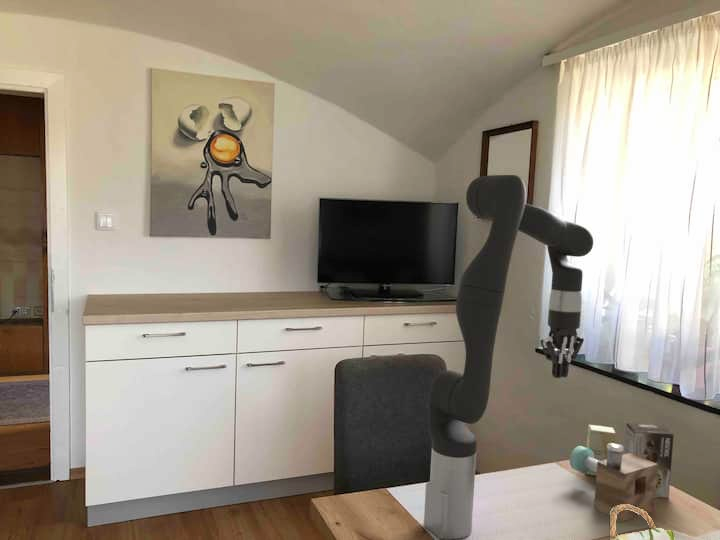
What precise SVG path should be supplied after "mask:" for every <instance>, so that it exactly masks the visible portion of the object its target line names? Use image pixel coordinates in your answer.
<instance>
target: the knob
mask: <svg viewBox="0 0 720 540" xmlns="http://www.w3.org/2000/svg"><path fill="white" fill-rule="evenodd" d="M597 463H598V460H596V459H594V453H593V451H592V450H590V449H587V448H586V447H585V446H583V445H578V446H576V447H575V448H573V450H572V451H571V453H570V457H569V465H570V467H571V469H573V470H575V471H577V472H579V473H581V474H586V473H587V472H588V471H590V470H592V471H594V472H597Z"/></svg>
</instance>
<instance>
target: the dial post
mask: <svg viewBox="0 0 720 540" xmlns="http://www.w3.org/2000/svg"><path fill="white" fill-rule="evenodd" d="M607 449H608V454H607V467H608V468H610V469H614V470H620V469H621V463H622V455H623V452H625V446H624V445H621V444H618V443H609V444H607Z"/></svg>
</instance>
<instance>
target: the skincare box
mask: <svg viewBox="0 0 720 540" xmlns="http://www.w3.org/2000/svg"><path fill="white" fill-rule="evenodd" d="M615 441H616V431H615V429H614V427H611V426H603V425H595V424H588V429H587V439H586V447H585V448H587V449H590V450H592V451H593V453H594V459H596V460H598V461H602V460H606V459H607V454H608V449H607V444H609V443H614V444H616V443H615ZM585 474H586V475H592V476H596V475H597V472H594V471H592V470H590V471H588V472H587V473H585Z"/></svg>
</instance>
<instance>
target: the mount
mask: <svg viewBox="0 0 720 540" xmlns="http://www.w3.org/2000/svg"><path fill="white" fill-rule="evenodd" d="M657 470H658V464H657V463H654V462H652V461H649V460H647V459H644V458H642V457H640V456H637V455H635V454H632V453H628V454H625V453H624V454H622V463H621V469H620V470H614V469H610V468H608V467H607V459H606V460H602V461H598V463H597V475H595V476H596V478H595V488H594V489H595V490H594V502H593V508H594V509H596V510H597V511H600V512H601V513H602V514H603V513H604V514H605V515H606V516H609V517H611V516H610V511H611V509H612V508H613V507H615V506H617V505H620V504H630V505H633V506H635V507H638V508H640V509H643V510H644V511H646V512H647V513H650V512H652V511H654V510H655V502H656V497H655V492H656V481H657ZM635 516H636V517H638V514H637V513H635V512H633V511H630V510H623V511H621V512H619V513H618V514H617V520H616V521H617V522H620V521H622V522H624V521H623V520H625V521H627V520H626V519H628V520H630V519H633V518H635ZM629 518H630V519H629Z"/></svg>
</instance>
